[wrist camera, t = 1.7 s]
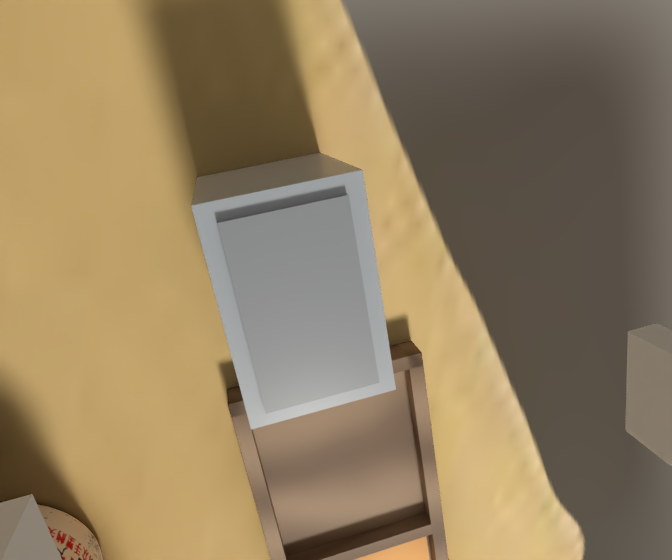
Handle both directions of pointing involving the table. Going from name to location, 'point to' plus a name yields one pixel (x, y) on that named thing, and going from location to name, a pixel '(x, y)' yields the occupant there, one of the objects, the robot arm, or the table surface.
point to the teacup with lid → (70, 535)
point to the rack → (349, 475)
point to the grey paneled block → (295, 284)
